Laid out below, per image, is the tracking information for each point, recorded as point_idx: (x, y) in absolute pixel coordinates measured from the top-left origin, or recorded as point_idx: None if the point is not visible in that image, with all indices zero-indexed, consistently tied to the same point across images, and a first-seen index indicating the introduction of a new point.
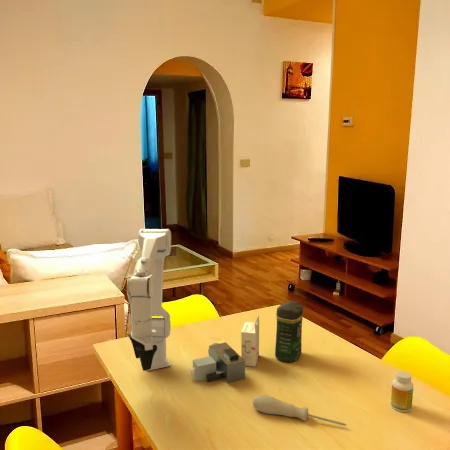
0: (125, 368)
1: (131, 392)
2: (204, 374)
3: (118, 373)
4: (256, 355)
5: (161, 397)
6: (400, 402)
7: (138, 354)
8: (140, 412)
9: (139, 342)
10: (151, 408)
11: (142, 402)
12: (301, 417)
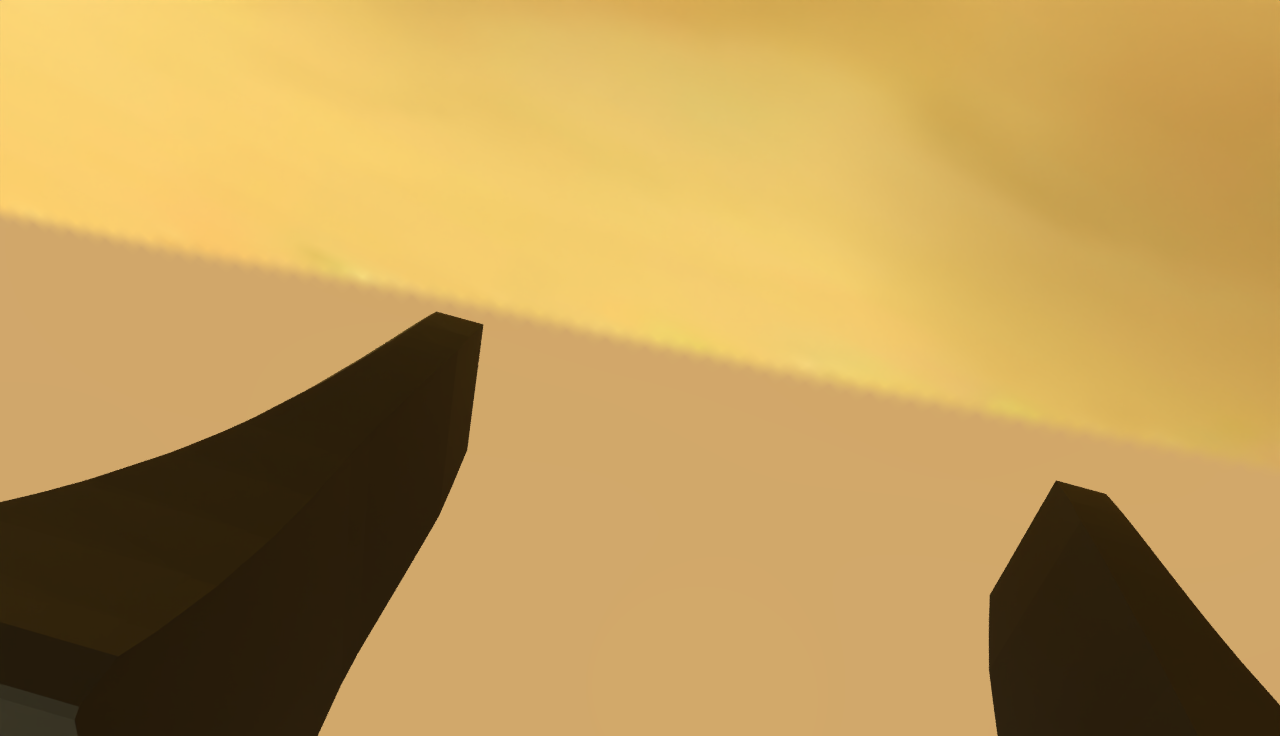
0: (9, 38)
1: (654, 278)
2: None
3: (119, 178)
4: None
5: (1072, 26)
6: None
7: (437, 470)
8: (1136, 413)
9: (279, 676)
10: (1184, 280)
11: (965, 293)
12: None
